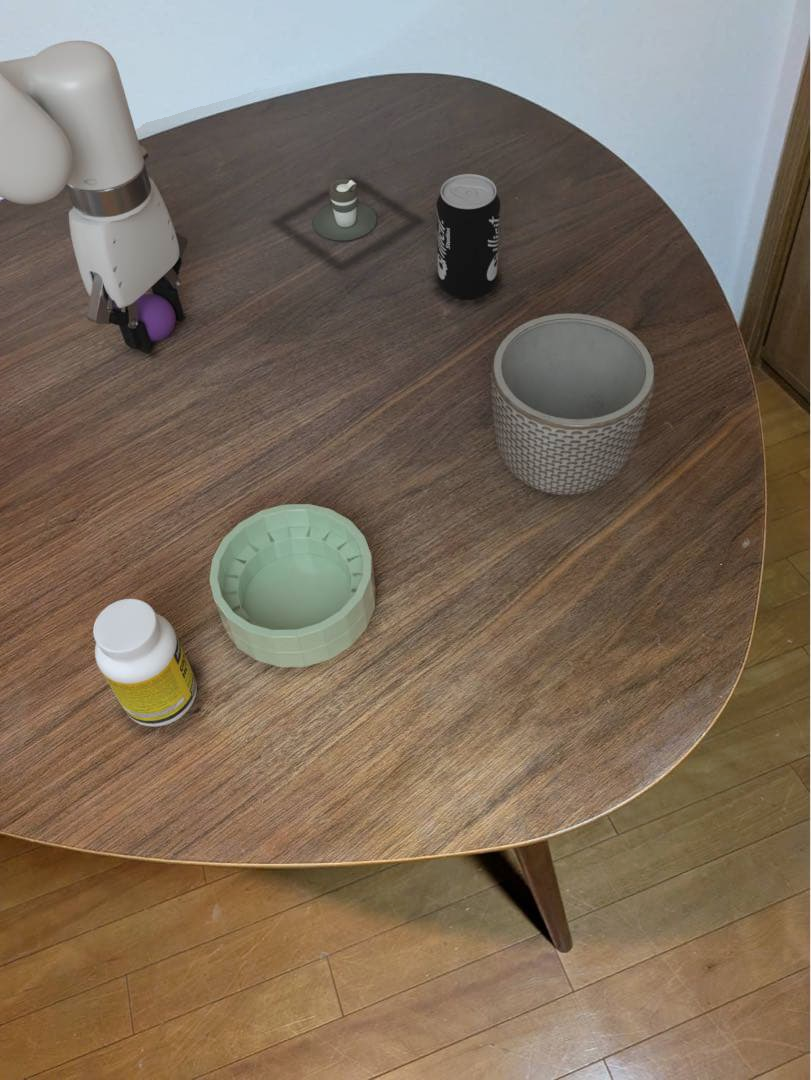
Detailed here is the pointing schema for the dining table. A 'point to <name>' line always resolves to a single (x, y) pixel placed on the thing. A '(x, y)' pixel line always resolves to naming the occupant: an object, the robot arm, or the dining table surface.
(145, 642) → the pill bottle
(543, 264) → the dining table surface
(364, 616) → the bowl
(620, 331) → the planter
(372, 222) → the coffee cup
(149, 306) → the ball
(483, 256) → the beverage can
